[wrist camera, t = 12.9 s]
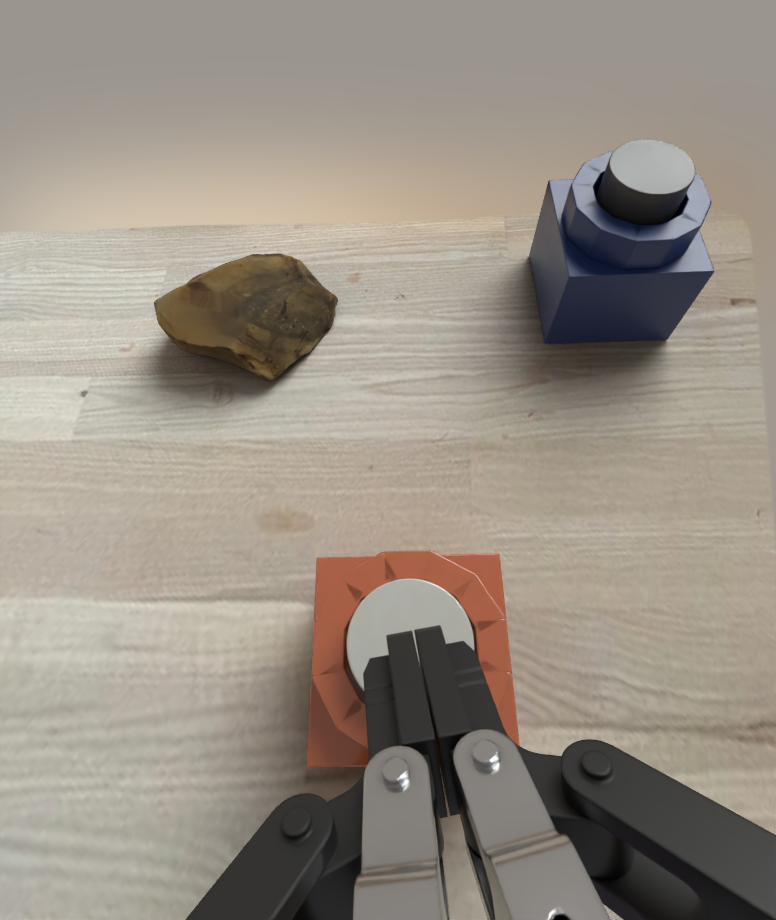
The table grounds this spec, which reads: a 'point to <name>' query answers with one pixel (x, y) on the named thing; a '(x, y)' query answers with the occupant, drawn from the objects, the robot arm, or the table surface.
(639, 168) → the grey push button
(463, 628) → the light grey short cylinder
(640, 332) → the near button housing
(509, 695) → the button base
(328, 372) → the table surface
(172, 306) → the decorative stone
